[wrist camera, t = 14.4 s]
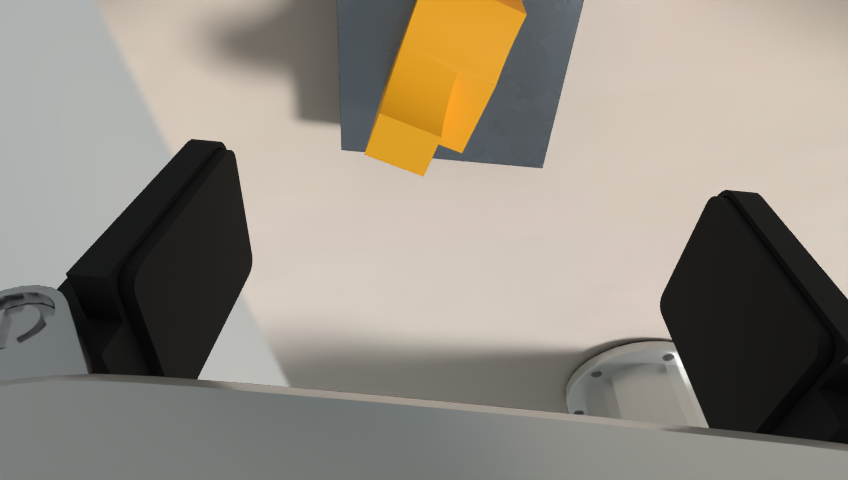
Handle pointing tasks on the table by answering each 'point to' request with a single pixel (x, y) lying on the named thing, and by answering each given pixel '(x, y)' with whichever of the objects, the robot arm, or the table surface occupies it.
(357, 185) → the table surface
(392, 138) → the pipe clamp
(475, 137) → the slate stand
